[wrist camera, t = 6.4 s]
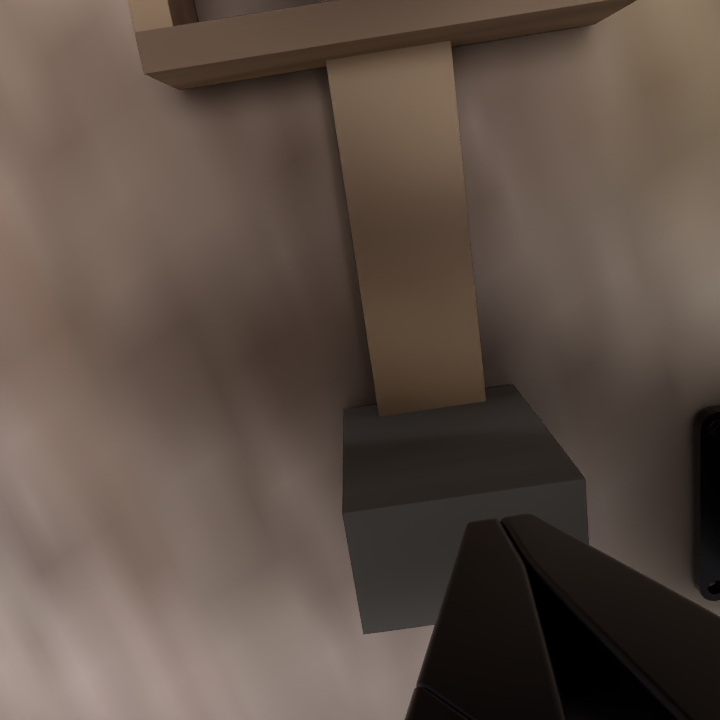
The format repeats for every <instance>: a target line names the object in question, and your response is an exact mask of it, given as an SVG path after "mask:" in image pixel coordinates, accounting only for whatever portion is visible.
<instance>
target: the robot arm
mask: <svg viewBox="0 0 720 720" xmlns="http://www.w3.org/2000/svg"><path fill="white" fill-rule="evenodd" d="M716 420H719V423H718V426H717V427H716V428H715V429H714V430H711V431H709V426H710V424H711V423H712V422H713V421H716ZM693 441H694V585H695V587H696V589H697V590H698V591H699V592H700V593H701V595H702V596H703V597H704V598H705V599H707V600H710V601H717V600H720V406H716V407H710V408H707V409H704V410H702V411H701V412H700V413H698V415H697V416H696V418H695V420H694V425H693ZM716 580H717V581H716ZM713 581H716V583H715V584H714V585H712V586H709V584H710V583H711V582H713ZM708 586H709V587H708ZM404 720H720V617H719V616H718V615H716V614H714V613H712V612H710V611H709V610H707V609H705V608H703V607H701V606H699V605H698V604H696V603H694V602H692V601H690V600H688V599H687V598H685V597H683V596H681V595H679V594H678V593H676V592H674V591H672V590H670V589H668V588H667V587H665V586H663V585H661V584H659V583H657V582H656V581H654V580H652V579H650V578H648V577H647V576H645V575H643V574H641V573H639V572H637V571H636V570H634V569H632V568H630V567H628V566H626V565H625V564H623V563H621V562H619V561H617V560H616V559H614V558H612V557H610V556H608V555H606V554H605V553H603V552H601V551H599V550H597V549H595V548H594V547H592V546H590V545H588V544H586V543H585V542H583V541H581V540H579V539H577V538H575V537H574V536H572V535H570V534H568V533H566V532H564V531H563V530H561V529H559V528H557V527H555V526H554V525H552V524H550V523H548V522H546V521H544V520H543V519H541V518H539V517H537V516H535V515H533V514H521V515H514V516H507V517H504V518H502V519H501V521H499V520H498V519H494V518H493V519H486V520H479V521H473V522H469V523H468V524H467V526H466V529H465V532H464V535H463V538H462V541H461V544H460V548H459V551H458V554H457V557H456V560H455V563H454V567H453V570H452V573H451V576H450V579H449V582H448V585H447V589H446V592H445V595H444V598H443V601H442V604H441V608H440V611H439V614H438V617H437V620H436V623H435V627H434V630H433V633H432V636H431V639H430V642H429V646H428V649H427V652H426V655H425V658H424V661H423V665H422V668H421V671H420V674H419V677H418V680H417V684H416V688H415V689H414V692H413V695H412V698H411V701H410V704H409V708H408V711H407V714H406V717H405V719H404Z"/></svg>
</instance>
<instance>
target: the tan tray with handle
mask: <svg viewBox="0 0 720 720" xmlns="http://www.w3.org/2000/svg"><path fill="white" fill-rule="evenodd" d="M634 1H636V0H334V1H327V2H321V3H315V4H309V5H302V6H296V7H290V8H284V9H277V10H271V11H265V12H259V13H252V14H246V15H240V16H234V17H228V18H221V19H215V20H209V21H203V22H198V21H197V16H196V11H195V6H194V1H193V0H128V4H129V8H130V13H131V17H132V22H133V26H134V31H135V35H136V40H137V44H138V49H139V53H140V58H141V62H142V66H143V71H144V74H146V75H148V76H150V77H152V78H154V79H157V80H159V81H161V82H163V83H165V84H167V85H170V86H172V87H174V88H176V89H178V90H181V89H188V88H194V87H200V86H207V85H213V84H219V83H226V82H232V81H238V80H245V79H251V78H257V77H264V76H270V75H276V74H283V73H289V72H295V71H302V70H308V69H314V68H321V67H327V73H328V80H329V86H330V93H331V100H332V106H333V113H334V120H335V126H336V133H337V140H338V146H339V153H340V160H341V166H342V173H343V180H344V187H345V193H346V200H347V207H348V213H349V220H350V227H351V233H352V240H353V247H354V253H355V260H356V267H357V273H358V280H359V287H360V293H361V300H362V307H363V313H364V320H365V327H366V333H367V340H368V347H369V354H370V360H371V367H372V374H373V380H374V387H375V394H376V400H377V404H376V405H369V406H362V407H355V408H348V409H344V417H343V505H342V514H343V520H344V525H345V531H346V537H347V542H348V548H349V554H350V560H351V565H352V571H353V577H354V582H355V588H356V594H357V600H358V605H359V611H360V617H361V623H362V628H363V634H370V633H378V632H385V631H392V630H399V629H407V628H414V627H421V626H428V625H435V623H436V620H437V617H438V614H439V611H440V608H441V604H442V601H443V598H444V595H445V592H446V589H447V585H448V582H449V579H450V576H451V573H452V570H453V567H454V563H455V560H456V557H457V554H458V551H459V548H460V544H461V541H462V538H463V535H464V532H465V529H466V526H467V524H468V523H469V522H473V521H479V520H486V519H493V518H494V519H498V520H499V521H501V519H502V518H504V517H507V516H514V515H521V514H533V515H535V516H537V517H539V518H541V519H543V520H544V521H546V522H548V523H550V524H552V525H554V526H555V527H557V528H559V529H561V530H563V531H564V532H566V533H568V534H570V535H572V536H574V537H575V538H577V539H579V540H581V541H583V542H585V543H586V544H588V545H589V538H588V519H587V501H586V482H585V478H584V476H583V475H582V474H581V472H580V471H579V470H578V469H577V467H576V466H575V465H574V463H573V462H572V461H571V459H570V458H569V457H568V455H567V454H566V453H565V452H564V450H563V449H562V448H561V446H560V445H559V444H558V442H557V441H556V440H555V438H554V437H553V436H552V435H551V433H550V432H549V431H548V429H547V428H546V427H545V425H544V424H543V423H542V421H541V420H540V419H539V418H538V416H537V415H536V414H535V412H534V411H533V410H532V408H531V407H530V406H529V404H528V403H527V402H526V401H525V399H524V398H523V397H522V395H521V394H520V393H519V391H518V390H517V389H516V387H515V386H514V385H506V386H499V387H492V388H485V385H484V375H483V365H482V355H481V344H480V334H479V324H478V314H477V304H476V294H475V284H474V273H473V263H472V253H471V243H470V233H469V223H468V213H467V202H466V192H465V182H464V172H463V162H462V152H461V142H460V131H459V121H458V111H457V101H456V91H455V81H454V71H453V60H452V50H451V47H453V46H460V45H466V44H472V43H479V42H485V41H491V40H498V39H504V38H510V37H517V36H523V35H529V34H536V33H542V32H548V31H555V30H561V29H567V28H574V27H580V26H586V25H593V24H596V23H598V22H600V21H601V20H603V19H605V18H606V17H608V16H610V15H612V14H613V13H615V12H617V11H619V10H620V9H622V8H624V7H626V6H627V5H629V4H631V3H633V2H634Z"/></svg>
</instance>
